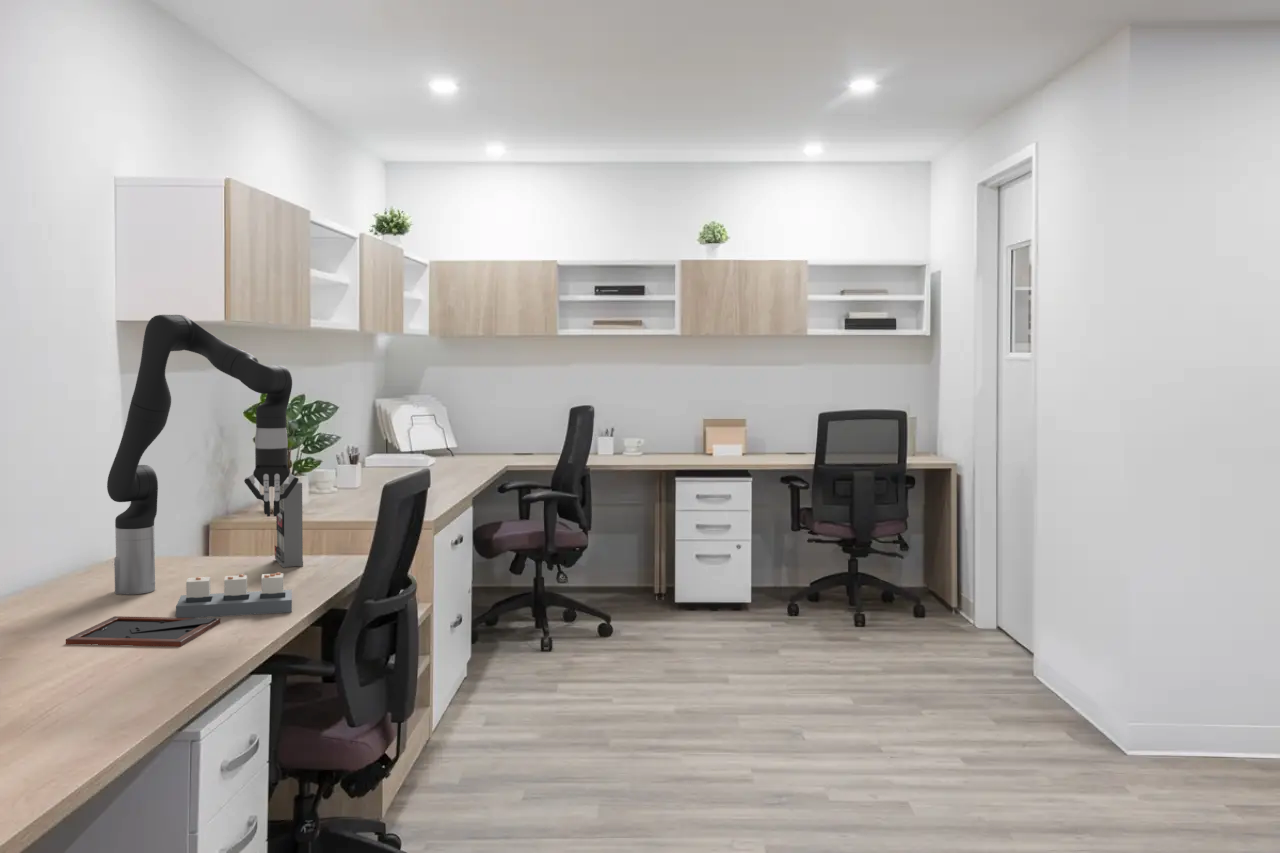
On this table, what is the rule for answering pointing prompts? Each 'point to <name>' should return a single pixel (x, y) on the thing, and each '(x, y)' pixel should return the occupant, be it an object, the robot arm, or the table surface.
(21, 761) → the table surface
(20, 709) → the table surface
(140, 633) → the picture frame
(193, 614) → the board
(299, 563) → the tall grey labeled box
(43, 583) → the table surface
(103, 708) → the table surface
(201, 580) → the tile one
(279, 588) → the tile three
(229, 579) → the tile two
